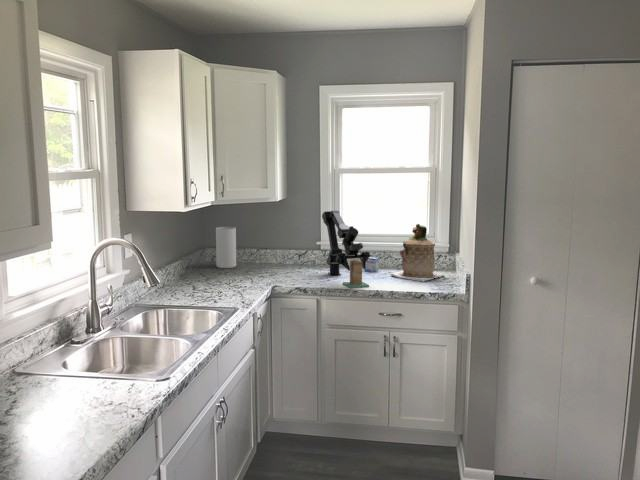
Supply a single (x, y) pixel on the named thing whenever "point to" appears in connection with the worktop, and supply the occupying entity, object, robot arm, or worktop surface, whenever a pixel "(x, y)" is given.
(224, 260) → the cylinder vase
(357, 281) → the walnut block
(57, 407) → the worktop surface
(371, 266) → the medicine box
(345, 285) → the green mat
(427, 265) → the cookie jar
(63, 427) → the worktop surface
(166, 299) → the worktop surface
